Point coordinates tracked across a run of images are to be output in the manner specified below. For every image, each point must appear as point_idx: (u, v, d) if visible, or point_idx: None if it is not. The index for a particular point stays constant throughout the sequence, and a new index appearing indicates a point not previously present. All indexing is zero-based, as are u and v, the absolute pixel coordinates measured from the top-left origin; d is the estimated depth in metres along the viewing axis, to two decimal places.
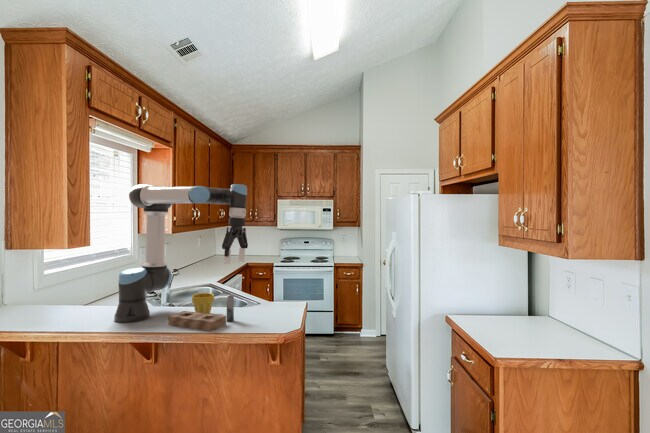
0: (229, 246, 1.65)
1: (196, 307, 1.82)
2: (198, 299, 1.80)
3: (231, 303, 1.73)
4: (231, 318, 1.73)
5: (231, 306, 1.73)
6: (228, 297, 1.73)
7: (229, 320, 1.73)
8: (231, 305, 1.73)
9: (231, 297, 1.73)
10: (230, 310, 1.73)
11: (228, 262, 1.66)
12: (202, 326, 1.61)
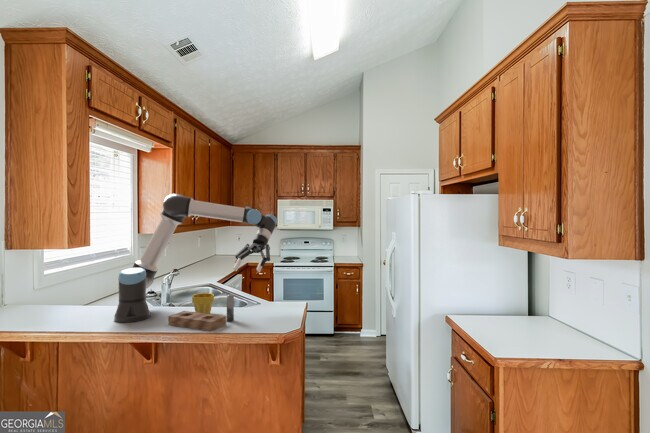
0: None
1: (196, 307, 1.82)
2: (198, 299, 1.80)
3: (231, 303, 1.73)
4: (231, 318, 1.73)
5: (231, 306, 1.73)
6: (228, 297, 1.73)
7: (229, 320, 1.73)
8: (231, 305, 1.73)
9: (231, 297, 1.73)
10: (230, 310, 1.73)
11: (259, 270, 1.85)
12: (202, 326, 1.61)
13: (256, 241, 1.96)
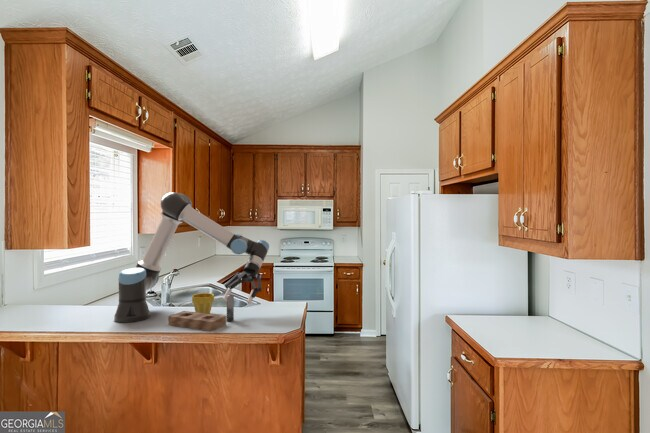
0: None
1: (196, 307, 1.82)
2: (198, 299, 1.80)
3: (231, 303, 1.73)
4: (231, 318, 1.73)
5: (231, 306, 1.73)
6: (228, 297, 1.73)
7: (229, 320, 1.73)
8: (231, 305, 1.73)
9: (231, 297, 1.73)
10: (230, 310, 1.73)
11: (250, 302, 1.76)
12: (202, 326, 1.61)
13: (247, 269, 1.87)
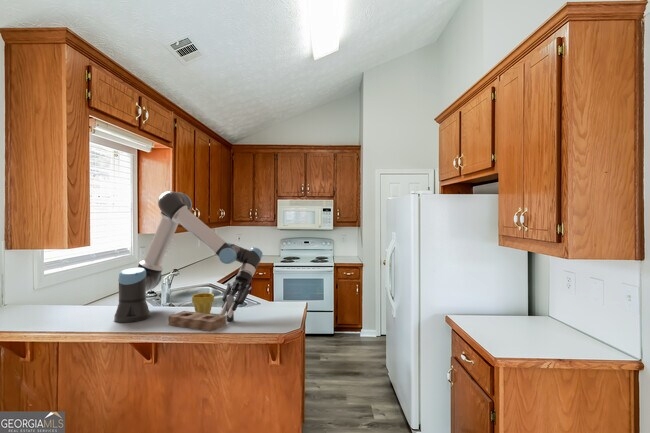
0: None
1: (196, 307, 1.82)
2: (198, 299, 1.80)
3: (231, 303, 1.73)
4: (231, 318, 1.73)
5: None
6: (228, 297, 1.73)
7: (229, 320, 1.73)
8: None
9: (231, 297, 1.73)
10: None
11: (230, 316, 1.71)
12: (202, 326, 1.61)
13: (239, 278, 1.82)
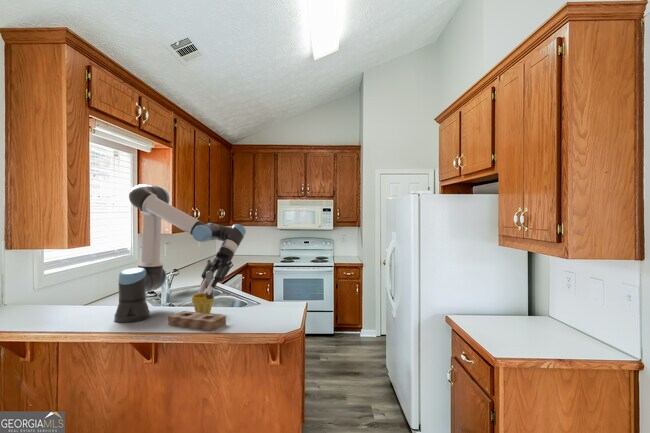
0: None
1: (196, 307, 1.82)
2: (198, 299, 1.80)
3: (210, 279, 1.65)
4: (210, 296, 1.65)
5: None
6: (207, 273, 1.65)
7: (208, 297, 1.65)
8: (210, 281, 1.65)
9: (210, 273, 1.65)
10: None
11: (209, 292, 1.63)
12: (202, 326, 1.61)
13: (220, 254, 1.74)
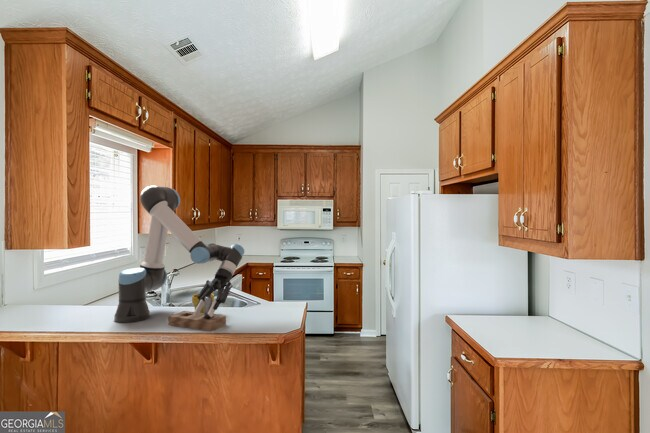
0: None
1: None
2: (198, 299, 1.80)
3: (209, 305, 1.64)
4: None
5: (209, 309, 1.64)
6: (206, 299, 1.64)
7: None
8: (209, 308, 1.64)
9: (209, 299, 1.64)
10: None
11: (211, 315, 1.62)
12: (202, 326, 1.61)
13: (218, 276, 1.74)
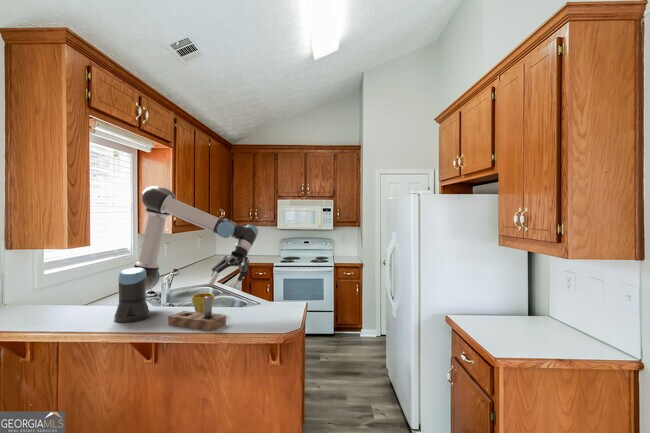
0: None
1: (196, 307, 1.82)
2: (198, 299, 1.80)
3: (209, 305, 1.65)
4: None
5: (209, 308, 1.65)
6: (206, 299, 1.64)
7: None
8: (209, 307, 1.65)
9: (209, 299, 1.65)
10: (208, 313, 1.64)
11: (236, 285, 1.74)
12: (202, 326, 1.61)
13: (235, 253, 1.85)
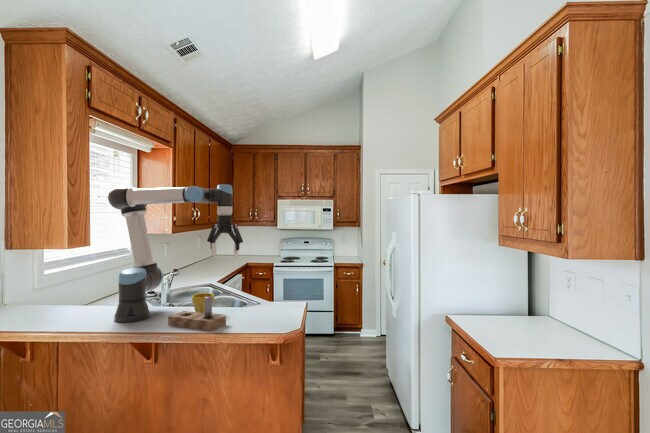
0: None
1: (196, 307, 1.82)
2: (198, 299, 1.80)
3: (209, 305, 1.64)
4: None
5: (209, 309, 1.64)
6: (206, 299, 1.64)
7: None
8: (209, 307, 1.64)
9: (209, 299, 1.64)
10: (208, 313, 1.64)
11: (237, 255, 1.88)
12: (202, 326, 1.61)
13: (221, 222, 1.88)
